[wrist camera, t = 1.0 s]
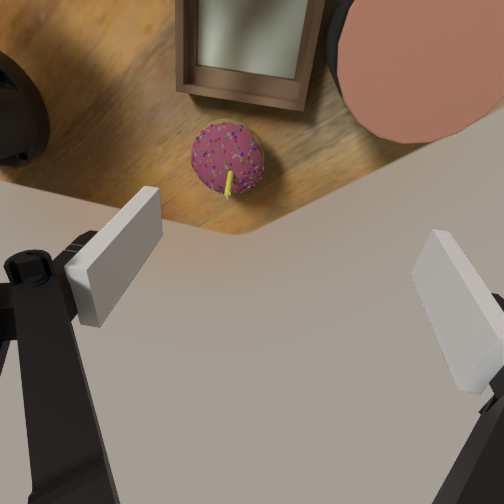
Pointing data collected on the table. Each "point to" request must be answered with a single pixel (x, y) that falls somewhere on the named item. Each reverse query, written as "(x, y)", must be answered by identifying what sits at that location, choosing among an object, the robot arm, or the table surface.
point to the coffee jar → (417, 64)
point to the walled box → (247, 49)
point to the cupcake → (228, 156)
